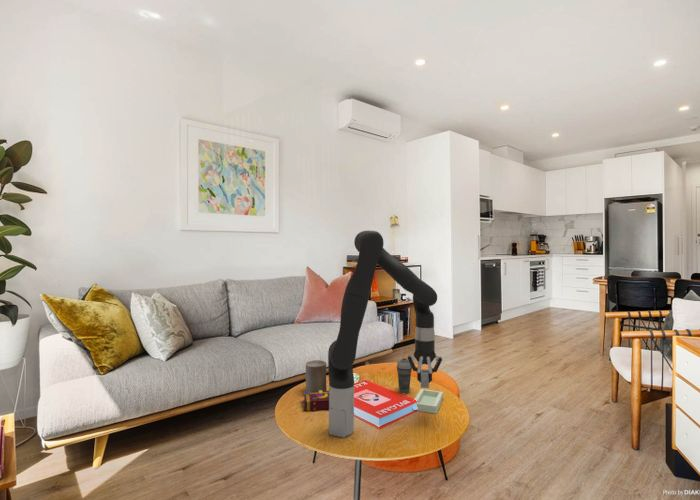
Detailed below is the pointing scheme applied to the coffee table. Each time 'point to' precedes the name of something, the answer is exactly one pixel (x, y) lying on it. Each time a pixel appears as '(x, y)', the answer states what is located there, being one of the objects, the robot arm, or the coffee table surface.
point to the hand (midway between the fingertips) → (424, 381)
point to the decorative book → (316, 400)
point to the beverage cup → (404, 374)
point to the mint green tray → (429, 401)
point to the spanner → (424, 378)
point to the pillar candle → (315, 376)
